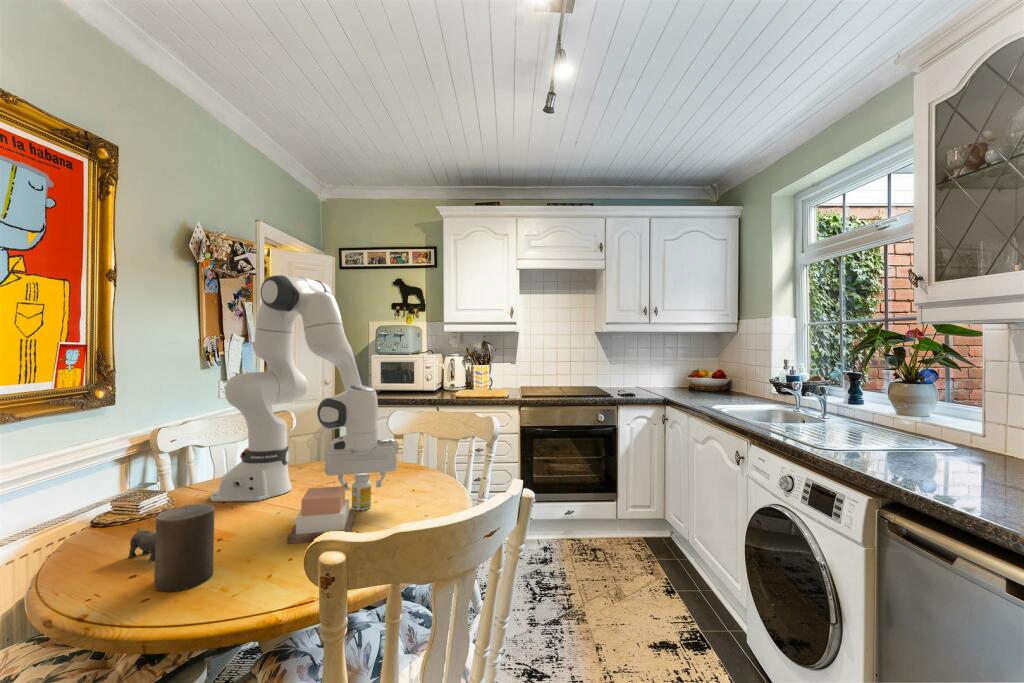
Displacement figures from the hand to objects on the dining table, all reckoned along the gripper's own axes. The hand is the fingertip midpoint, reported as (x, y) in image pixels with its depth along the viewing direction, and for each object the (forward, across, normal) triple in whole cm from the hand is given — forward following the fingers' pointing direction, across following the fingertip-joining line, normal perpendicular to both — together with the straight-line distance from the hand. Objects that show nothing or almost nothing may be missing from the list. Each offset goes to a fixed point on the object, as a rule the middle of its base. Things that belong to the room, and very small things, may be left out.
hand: (362, 488), depth 130 cm
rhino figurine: (+6, +41, +22) cm, 47 cm away
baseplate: (+6, +8, +14) cm, 17 cm away
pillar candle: (+6, +31, +34) cm, 46 cm away
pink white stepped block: (+4, +8, +14) cm, 17 cm away
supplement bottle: (+6, 0, 0) cm, 6 cm away
